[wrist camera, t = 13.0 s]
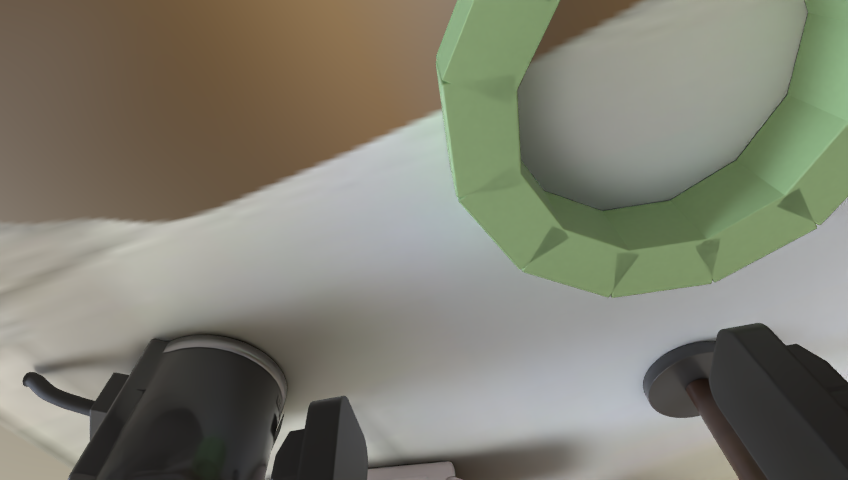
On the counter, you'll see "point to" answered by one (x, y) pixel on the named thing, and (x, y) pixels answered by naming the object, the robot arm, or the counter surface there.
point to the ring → (650, 223)
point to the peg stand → (696, 400)
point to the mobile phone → (415, 472)
